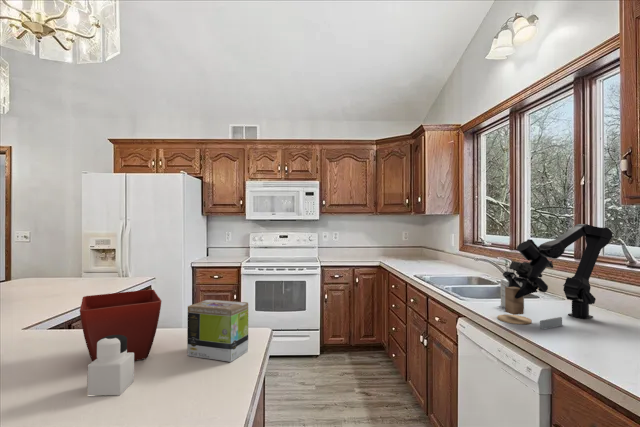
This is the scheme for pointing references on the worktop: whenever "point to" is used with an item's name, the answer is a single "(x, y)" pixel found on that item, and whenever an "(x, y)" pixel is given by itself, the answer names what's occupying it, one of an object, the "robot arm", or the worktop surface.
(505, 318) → the cork coaster
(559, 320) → the divider wall
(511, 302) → the walnut block
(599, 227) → the robot arm
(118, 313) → the plant pot
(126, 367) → the white stepped block
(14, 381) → the worktop surface
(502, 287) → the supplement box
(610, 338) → the worktop surface
